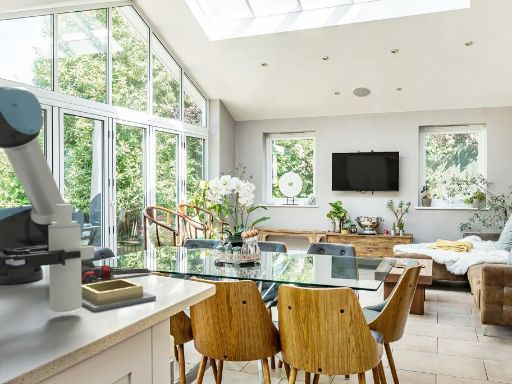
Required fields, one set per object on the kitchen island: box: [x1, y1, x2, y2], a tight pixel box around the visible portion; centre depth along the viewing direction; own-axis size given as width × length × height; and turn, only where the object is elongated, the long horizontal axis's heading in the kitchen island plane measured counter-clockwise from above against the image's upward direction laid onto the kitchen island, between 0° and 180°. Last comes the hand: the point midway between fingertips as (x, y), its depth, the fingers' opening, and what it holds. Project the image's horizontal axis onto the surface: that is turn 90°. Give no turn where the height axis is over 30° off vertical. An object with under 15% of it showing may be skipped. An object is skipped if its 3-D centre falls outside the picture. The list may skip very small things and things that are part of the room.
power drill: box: [81, 259, 151, 284], centre depth 143 cm, size 6×26×15 cm
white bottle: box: [48, 203, 83, 313], centre depth 103 cm, size 7×7×25 cm
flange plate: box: [82, 278, 157, 313], centre depth 119 cm, size 18×16×4 cm
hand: (87, 250), depth 106 cm, fingers closed on white bottle, 6 cm apart
